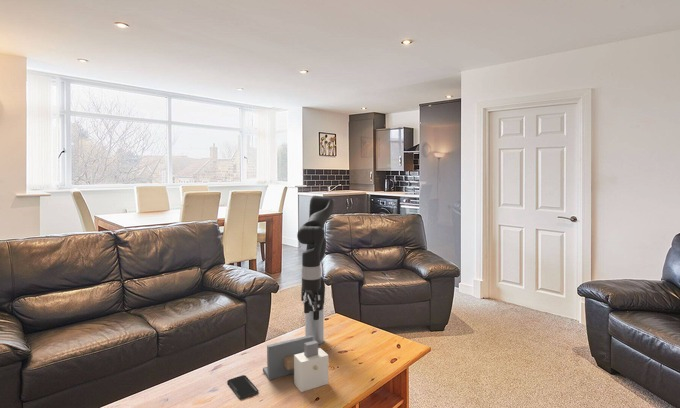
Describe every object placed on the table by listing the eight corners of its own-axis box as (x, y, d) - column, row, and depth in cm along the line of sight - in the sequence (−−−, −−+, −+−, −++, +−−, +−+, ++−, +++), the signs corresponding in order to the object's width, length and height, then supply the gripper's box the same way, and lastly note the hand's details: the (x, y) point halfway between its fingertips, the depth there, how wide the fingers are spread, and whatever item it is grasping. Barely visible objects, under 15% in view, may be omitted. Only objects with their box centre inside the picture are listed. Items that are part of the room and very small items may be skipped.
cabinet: (294, 383, 151) (293, 342, 150) (320, 375, 157) (320, 336, 156) (302, 393, 144) (302, 350, 143) (329, 384, 150) (329, 344, 149)
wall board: (262, 371, 160) (262, 339, 159) (305, 359, 170) (305, 330, 169) (272, 385, 150) (272, 351, 148) (317, 372, 159) (317, 340, 158)
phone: (244, 374, 156) (259, 391, 144) (244, 377, 156) (259, 394, 144) (226, 380, 152) (239, 398, 140) (226, 383, 152) (239, 401, 140)
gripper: (328, 279, 143) (328, 320, 144) (311, 271, 156) (312, 309, 157) (310, 282, 140) (310, 324, 141) (295, 273, 152) (295, 312, 153)
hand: (311, 316), depth 149 cm, fingers open, 8 cm apart
